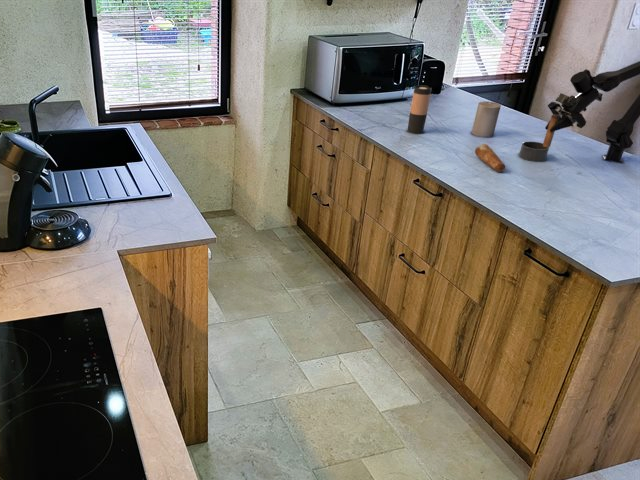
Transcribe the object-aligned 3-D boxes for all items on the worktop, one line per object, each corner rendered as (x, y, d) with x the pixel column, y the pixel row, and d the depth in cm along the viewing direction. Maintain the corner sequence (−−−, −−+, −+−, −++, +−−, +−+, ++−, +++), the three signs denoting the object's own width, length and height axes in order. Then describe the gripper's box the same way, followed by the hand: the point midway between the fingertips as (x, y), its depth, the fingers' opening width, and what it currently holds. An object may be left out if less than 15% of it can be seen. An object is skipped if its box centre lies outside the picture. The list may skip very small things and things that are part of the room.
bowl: (519, 151, 254) (522, 140, 251) (545, 155, 250) (549, 143, 248) (518, 159, 246) (521, 147, 243) (545, 163, 242) (549, 151, 240)
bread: (487, 156, 248) (490, 143, 245) (506, 173, 232) (510, 159, 229) (472, 156, 247) (475, 143, 244) (490, 173, 231) (494, 159, 228)
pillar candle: (482, 130, 279) (490, 97, 271) (498, 136, 272) (506, 102, 263) (466, 132, 275) (474, 99, 267) (482, 138, 268) (490, 105, 260)
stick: (542, 144, 240) (551, 113, 234) (550, 145, 240) (559, 114, 233) (542, 146, 238) (551, 115, 231) (550, 147, 237) (559, 116, 231)
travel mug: (405, 132, 273) (413, 88, 263) (408, 128, 279) (415, 84, 268) (422, 134, 271) (430, 90, 260) (424, 130, 277) (433, 86, 266)
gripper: (559, 80, 234) (525, 109, 239) (589, 92, 219) (552, 123, 224) (571, 100, 240) (538, 128, 244) (601, 113, 224) (565, 142, 229)
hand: (547, 130), depth 235 cm, fingers closed on stick, 3 cm apart
